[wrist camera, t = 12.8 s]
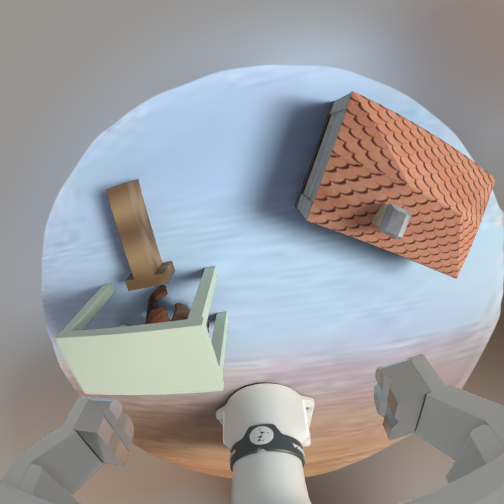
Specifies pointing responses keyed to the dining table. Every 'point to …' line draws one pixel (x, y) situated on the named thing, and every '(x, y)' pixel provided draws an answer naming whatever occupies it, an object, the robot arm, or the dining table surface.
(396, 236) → the model house
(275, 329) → the dining table surface
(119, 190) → the push stick
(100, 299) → the footstool
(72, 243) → the dining table surface
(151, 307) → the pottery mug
